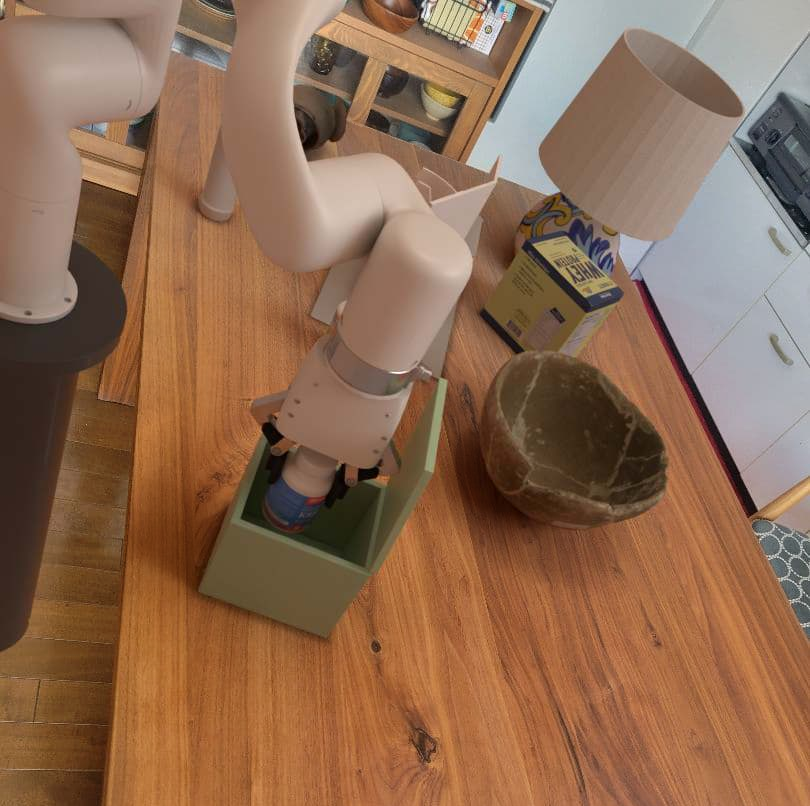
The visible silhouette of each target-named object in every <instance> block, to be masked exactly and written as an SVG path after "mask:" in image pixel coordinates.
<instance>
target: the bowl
mask: <svg viewBox="0 0 810 806" xmlns="http://www.w3.org/2000/svg"><path fill="white" fill-rule="evenodd" d="M479 442H480V450H481V453H482V457H483V459H484V462H485V466H486V473H487V474H488V477H489V478H490V480H491V481H492V483H493V485H494V486H495V487H496V489H497V490H498V491H499V493H500V494H501V495H502V496H503V497H504V499H505V500H506V501H507V502H508V503H509V504H510V505H512V506H513V507H514V508H515V509H517V511H519V512H520V513H522V514H523V515H525V516H527V517H528V518H530V519H532V520H533V521H536V522H538V523H540V524H542V525H546V526H549V527H552V528H557V529H562V530H571V531H584V530H585V531H587V530H593V529H598V528H601V527H604V526H607V525H610V524H617V523H620V522H623V521H627V520H630V519H634V518H636V517H639V516H642V515H643V514H645V513H646V512H648V511H649V510H651V509H652V508H654V507H655V506H656V505H657V504H658V503H660V502H661V500H662V499H663V497H664V496H665V494H666V492H667V487H668V480H669V476H667V473H668V470H669V467H670V461H669V456H668V455H667V454H666V449H667V448H666V445H665V443H664V440H663V437H661V435H660V434H659V431H658V430H657V429H656V428H655V426H654V425H653V423H652V421H650V419H649V418H648V417H647V416H646V415H644V413H643V412H641V410H640V409H639V407H638V406H637V405H636V404H635V403H634V402H632V400H629V398H628V397H627V396H626V394H625V393H624V392H623V391H622V390H621V389H620V387H618V386H617V385H616V384H615V383H614V382H613V381H612V380H611V379H610V378H609V377H608V376H607V375H606V374H605V373H604V372H603V371H601V369H599V368H598V367H596V366H594V365H592V364H590V363H589V362H586V361H584V360H582V359H580V358H577V357H576V358H574V357H571V356H568V355H565V354H562V353H559V352H555V351H541V352H539V351H538V350H534V351H526V352H522V353H519V354H517V353H516V354H515V355H513V356H512V357H510V358H509V359H508V360H507V361H505V363H504V364H502V366H501V367H500V368H499V369H498V371H497V373H496V374H495V375H494V377H493V378H492V380H491V383H490V384H489V387H488V389H487V392H486V395H485V399H484V402H483V405H482V409H481V414H480V424H479Z"/></svg>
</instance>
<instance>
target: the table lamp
mask: <svg viewBox="0 0 810 806" xmlns="http://www.w3.org/2000/svg"><path fill="white" fill-rule="evenodd" d="M745 115H746V108H745V105H744V103H743V101H742V99H741V98H740V96H739V95H738V94H737V92H736V91H735V89H733V87H731V85H730V84H729V83H728V82H727V81H726V80H725V79H724V78H723V77H722V76H720V74H719V73H717V72H716V70H714V69H713V68H712V67H710V66H709V65H708V64H707V63H706V62H705V61H703V60H701V59H700V58H699V57H697V56H696V55H695V54H694V53H691V52H690V51H689V50H688V49H685V48H684V47H683V46H681V45H679V44H677V43H676V42H674V41H672V40H671V39H668V38H667V37H664V36H663V35H661V34H659V33H656V32H653V31H650V30H649V29H644V28H641V27H628V28H627V29H624V30H623V32H622V34H621V35H620V36H619V37H618V39H617V40H616V41H615V43H614V44H613V46H612V47H611V48H610V50H609V51H608V53H607V54H606V55H605V56H604V57H603V59H602V61H601V62H600V64H598V66H597V67H596V69H594V71H593V73H591V75H590V76H589V78H588V79H587V80H586V82H585V83H584V85H583V86H582V87H581V89H580V90H579V91H578V93H577V94H576V95H575V96H574V98H573V99H572V101H571V102H570V104H569V105H568V106H567V108H565V110H564V111H563V113H562V114H561V116H560V117H559V118H558V120H557V121H556V122H555V124H554V125H553V126H552V127H551V129H550V130H549V132H548V133H547V134H546V135H545V137H544V138H543V140H542V141H541V143H540V144H539V147H538V158H539V161H540V164H541V167H542V168H543V170H544V171H545V174H546V175H547V177H548V178H549V179H550V180H551V182H552V183H553V184H554V186H555V187H556V188H557V189H558V192H555V193H553V194H550V195H548V196H546V197H545V198H543V199H541V200H540V201H538V202H537V203H536V204H535V205H534V206H532V208H531V209H530V210H529V211H527V212H526V213H525V214H524V215H523V217H522V219H521V220H520V223H519V224H518V226H517V229H516V231H515V239H514V258H515V257H516V255H517V253H518V252H519V250H520V249H521V247H522V246H523V244H524V242H525V241H526V239H529V238H533V237H537V236H542V235H546V234H550V233H554V232H558V231H562V232H563V233H564V234H565V235H566V236H567V237H568V238H569V239H570V240H571V241H572V242H573V243H574V244H575V245H576V246H577V247H578V248H579V249H580V250H581V251H582V252H583V253H584V254H585V255H586V256H587V257H588V258H589V259H590V260H591V261H592V262H593V263H594V264H595V265H596V266H597V267H599V268H600V269H601V270H602V271H603V272H604V273H605V274H606V275H607V276H608V277H609V278H610V277H611V276H612V273H613V271H614V268H615V266H616V264H617V260H618V255H619V250H620V245H621V235H623V236H626V237H629V238H632V239H635V240H638V241H639V240H640V241H643V242H651V243H652V242H653V243H656V242H662V241H665V240H666V239H668V238H670V236H671V235H672V233H673V231H674V230H675V228H676V227H677V225H678V224H679V222H680V221H681V219H682V218H683V216H684V215H685V213H686V210H687V209H688V208H689V206H690V204H691V203H692V201H693V200H694V198H695V196H696V194H697V193H698V191H699V190H700V188H701V186H702V185H703V183H704V182H705V180H706V178H707V177H708V176H709V174H710V172H711V170H712V169H713V168H714V166H715V164H716V162H717V160H718V159H719V158H720V156H721V154H722V153H723V151H724V149H725V148H726V146H727V145H728V143H729V141H730V140H731V138H732V137H733V135H734V133H735V132H736V130H737V128H738V127H739V125H740V123H741V122H742V120H743V119H744V117H745Z"/></svg>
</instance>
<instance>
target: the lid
mask: <svg viewBox="0 0 810 806" xmlns="http://www.w3.org/2000/svg"><path fill="white" fill-rule="evenodd" d="M448 382H449V381H448V379H447V378H446V379H445V378H442V377H440V378H439V379H437V382H436V384H435V386H434V388H433V390H432V391H431V394H430V396H429V398H428V400H427V402H426V404H425V405H424V408H423V409H422V412H421V414H420V416H419V418H418V420H417V422H416V424H415V426H414V428H413V430H412V432H411V434H410V436H409V438H408V440H407V441H406V444H405V446H404V448H403V450H402V452H401V454H400V455H399V456H400V459H401V462H402V464H401V469H400V473H399V474H395V475H389V478H388V480H387V482H386V483H387V484H386V485H387V487H386V492H385V496H384V501H383V506H382V511H381V516H380V521H379V526H378V531H377V536H376V541H375V546H374V551H373V555H372V560H371V565H370V570H369V572H370V573H371V574H373V575H376V576H377V575H379V573H380V571H381V569H382V567H383V565H384V563H385V562H386V560H387V558H388V556H389V554H390V553H391V551H392V548H393V547H394V545H395V543H396V541H397V539H398V538H399V535H401V532H402V531H403V529H404V527H405V525H406V524H407V522H408V520H409V518H410V516H411V515H412V513H413V511H414V509H415V507H416V506H417V503H418V502H419V500H420V498H421V497H422V494H423V493H424V491H425V489H426V488H427V485H428V484H429V482H430V481H431V478H432V477H433V474H434V473H435V465H436V459H437V452H438V446H439V439H440V433H441V428H442V420H443V413H444V408H445V401H446V396H447V395H446V394H447V389H448Z"/></svg>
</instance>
